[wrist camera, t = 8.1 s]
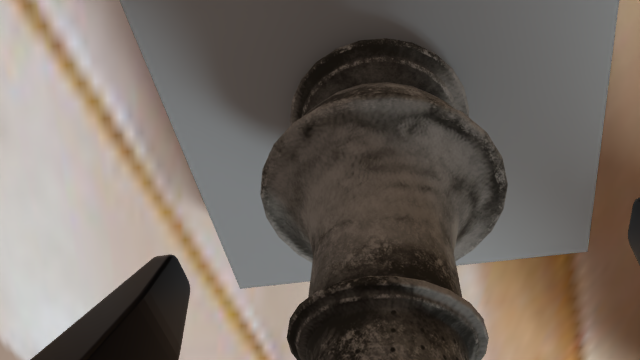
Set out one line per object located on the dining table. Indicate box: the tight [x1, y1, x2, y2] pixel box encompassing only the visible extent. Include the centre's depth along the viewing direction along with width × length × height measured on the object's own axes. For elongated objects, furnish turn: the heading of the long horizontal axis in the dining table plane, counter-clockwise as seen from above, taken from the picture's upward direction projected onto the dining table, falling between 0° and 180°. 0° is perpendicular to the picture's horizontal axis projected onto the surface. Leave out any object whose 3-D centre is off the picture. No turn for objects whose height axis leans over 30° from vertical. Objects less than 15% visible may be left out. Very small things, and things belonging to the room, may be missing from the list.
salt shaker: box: [260, 38, 508, 360], centre depth 10 cm, size 6×6×12 cm
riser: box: [120, 0, 619, 289], centre depth 16 cm, size 13×13×3 cm
